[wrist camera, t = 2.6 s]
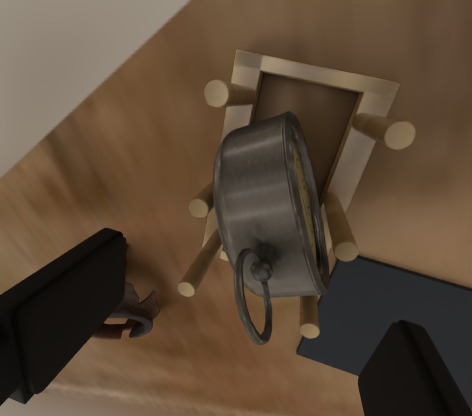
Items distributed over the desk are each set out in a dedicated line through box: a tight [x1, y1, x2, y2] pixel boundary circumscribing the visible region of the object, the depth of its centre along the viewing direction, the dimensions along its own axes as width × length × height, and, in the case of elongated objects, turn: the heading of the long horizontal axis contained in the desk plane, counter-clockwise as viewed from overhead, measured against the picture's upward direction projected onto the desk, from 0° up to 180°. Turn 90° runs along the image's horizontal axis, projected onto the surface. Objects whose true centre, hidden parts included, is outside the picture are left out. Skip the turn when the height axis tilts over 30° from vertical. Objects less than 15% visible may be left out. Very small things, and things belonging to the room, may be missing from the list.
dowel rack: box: [178, 50, 416, 338], centre depth 18 cm, size 11×18×10 cm, turn 169°
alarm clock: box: [213, 111, 330, 345], centre depth 15 cm, size 11×5×16 cm, turn 18°
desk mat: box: [297, 256, 472, 409], centre depth 25 cm, size 18×14×1 cm
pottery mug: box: [91, 244, 160, 340], centre depth 29 cm, size 12×10×8 cm
